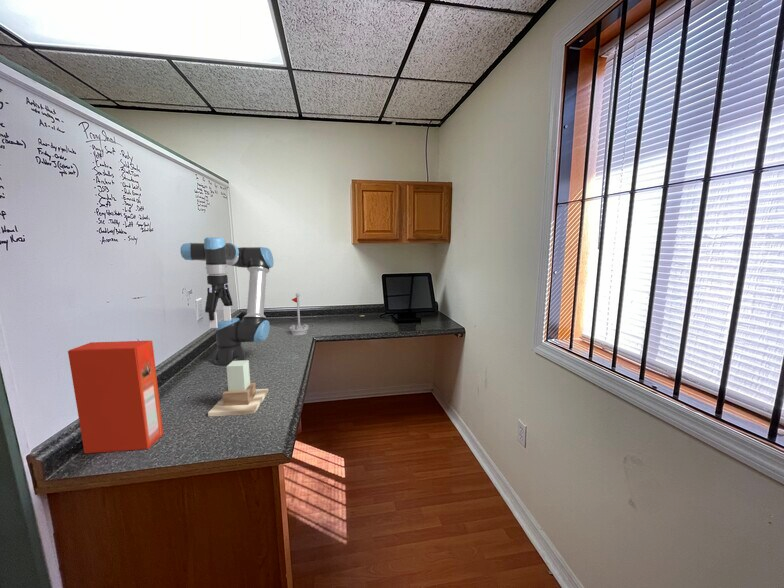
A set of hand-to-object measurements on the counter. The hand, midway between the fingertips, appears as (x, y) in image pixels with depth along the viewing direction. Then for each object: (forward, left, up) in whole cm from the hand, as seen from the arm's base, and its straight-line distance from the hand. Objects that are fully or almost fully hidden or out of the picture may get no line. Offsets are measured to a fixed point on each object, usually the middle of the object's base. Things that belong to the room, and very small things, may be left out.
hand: (221, 324), depth 131 cm
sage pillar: (+16, +12, -22) cm, 30 cm away
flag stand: (-90, +15, -29) cm, 96 cm away
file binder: (+39, -14, -29) cm, 51 cm away
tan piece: (+16, +12, -29) cm, 35 cm away
